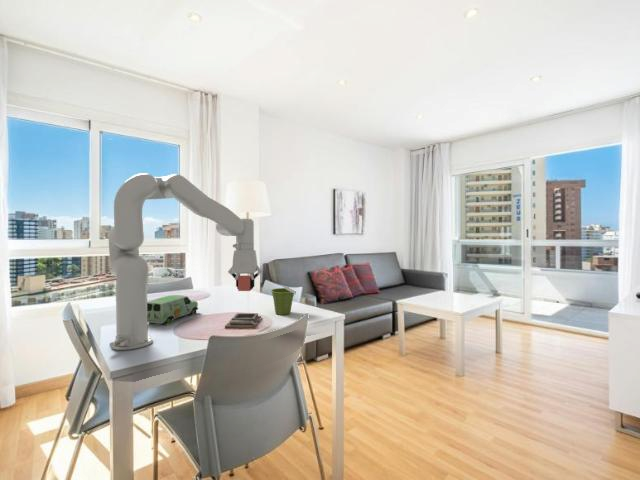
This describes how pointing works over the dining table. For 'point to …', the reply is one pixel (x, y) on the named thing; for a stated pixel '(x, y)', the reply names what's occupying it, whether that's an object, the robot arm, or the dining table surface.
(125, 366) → the dining table surface
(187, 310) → the toy car
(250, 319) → the board
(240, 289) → the red block
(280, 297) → the plant pot
